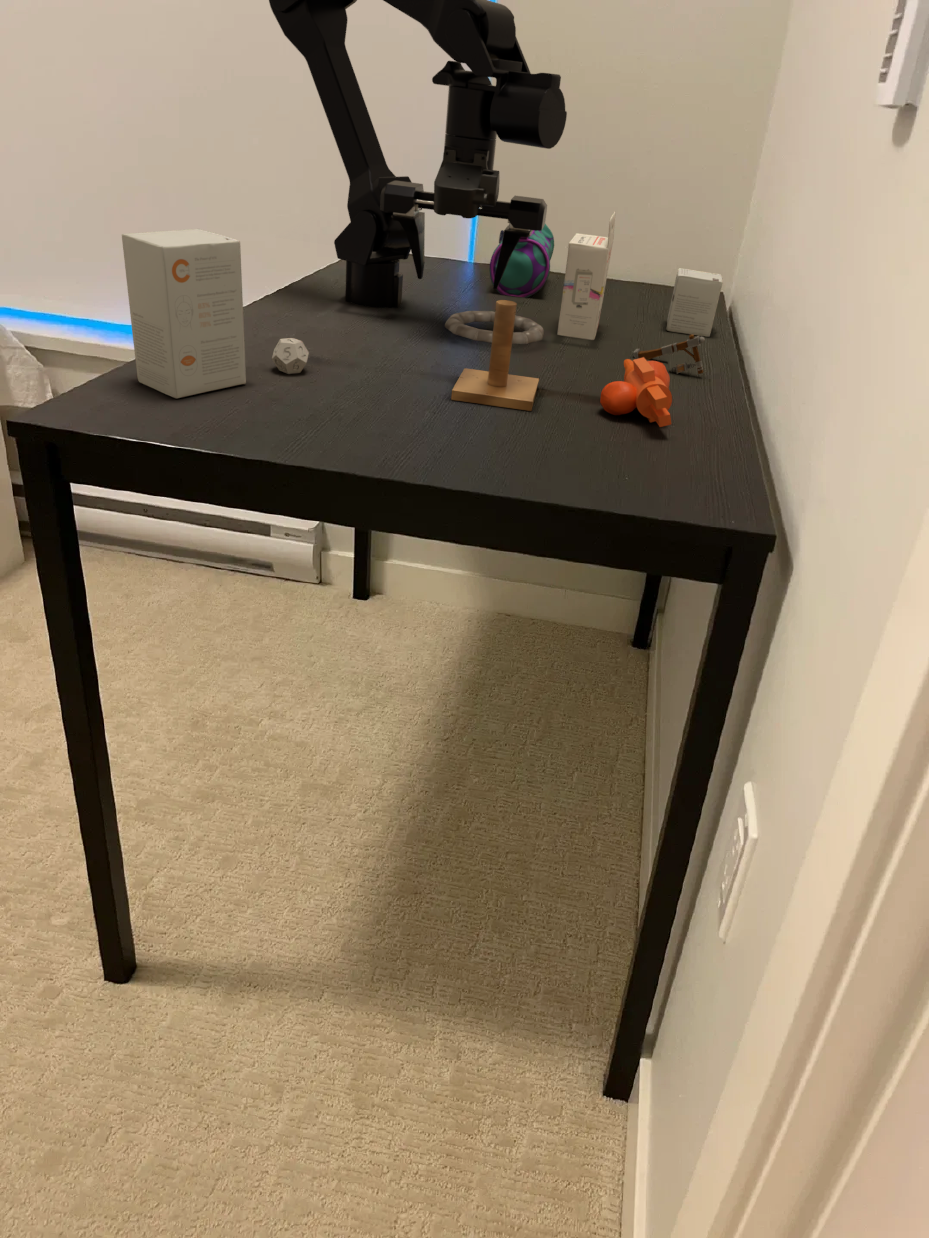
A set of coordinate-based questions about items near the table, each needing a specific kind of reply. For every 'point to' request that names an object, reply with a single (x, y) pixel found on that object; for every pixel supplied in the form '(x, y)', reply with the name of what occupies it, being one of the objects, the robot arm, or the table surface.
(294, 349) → the game die
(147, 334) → the small box
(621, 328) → the table surface
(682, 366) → the wooden post with brackets
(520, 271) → the pencil case
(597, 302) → the ink cartridge box
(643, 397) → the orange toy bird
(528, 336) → the gray segmented ring
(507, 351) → the wooden peg stand
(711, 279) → the white cardboard box
